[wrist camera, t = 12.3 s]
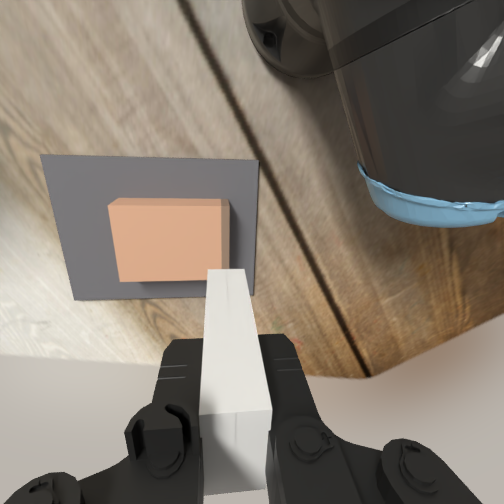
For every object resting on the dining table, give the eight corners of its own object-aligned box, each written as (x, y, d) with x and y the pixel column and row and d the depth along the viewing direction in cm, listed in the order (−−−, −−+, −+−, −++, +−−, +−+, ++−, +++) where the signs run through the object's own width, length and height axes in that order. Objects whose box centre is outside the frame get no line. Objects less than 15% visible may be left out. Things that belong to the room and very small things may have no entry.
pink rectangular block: (107, 205, 33) (229, 206, 35) (118, 197, 37) (228, 198, 39) (119, 282, 37) (229, 279, 39) (128, 268, 41) (228, 266, 42)
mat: (42, 154, 35) (39, 154, 34) (258, 160, 38) (258, 160, 37) (76, 298, 42) (74, 300, 42) (252, 293, 45) (253, 295, 45)
